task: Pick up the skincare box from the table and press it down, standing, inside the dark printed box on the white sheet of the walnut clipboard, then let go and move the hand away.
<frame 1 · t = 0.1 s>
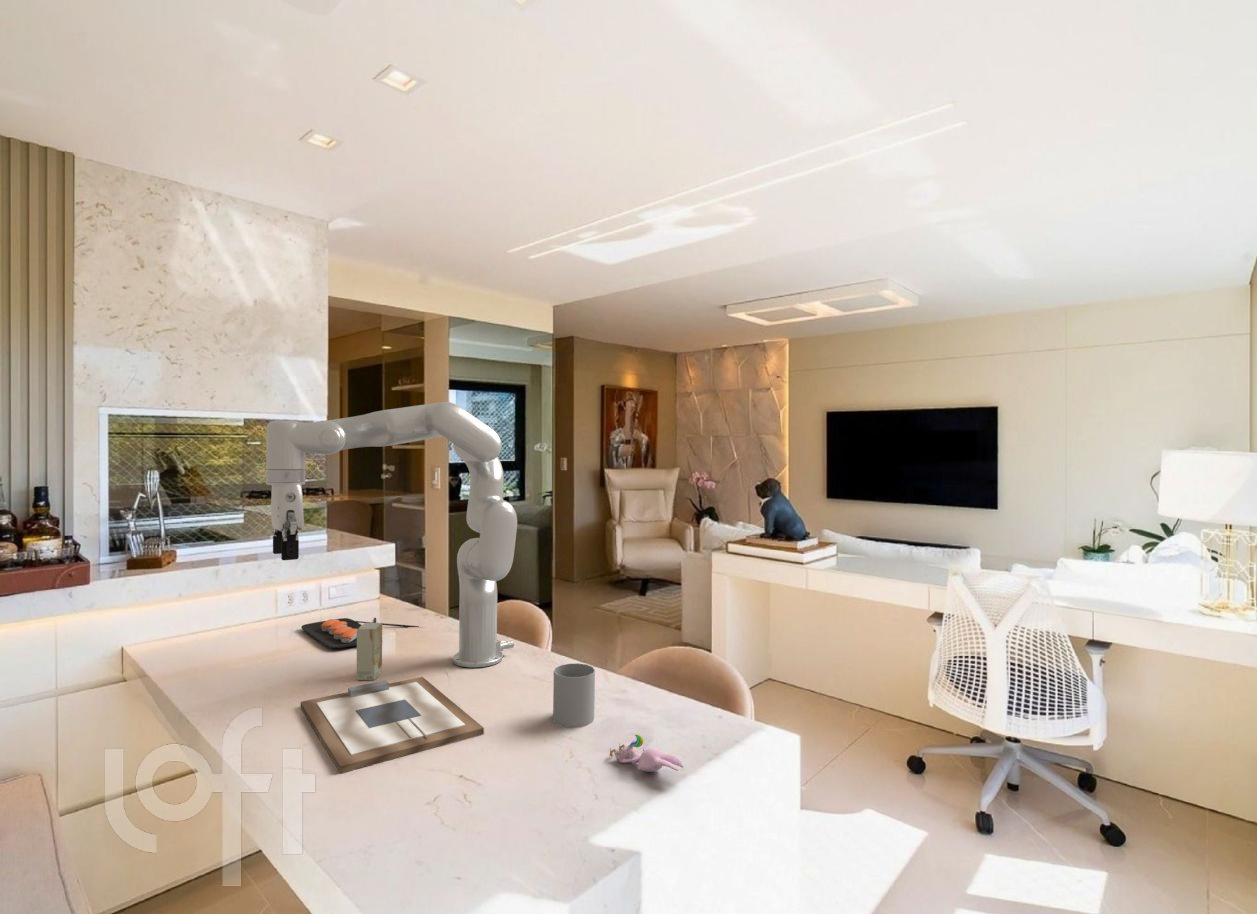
hand: (285, 556, 140), 31 cm above the table, tool pointing down, fingers open, 9 cm apart
skincare box: (369, 676, 155), on the table
cup: (573, 719, 133), on the table
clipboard: (388, 720, 131), on the table
sushi plate: (367, 633, 193), on the table
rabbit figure: (645, 771, 112), on the table
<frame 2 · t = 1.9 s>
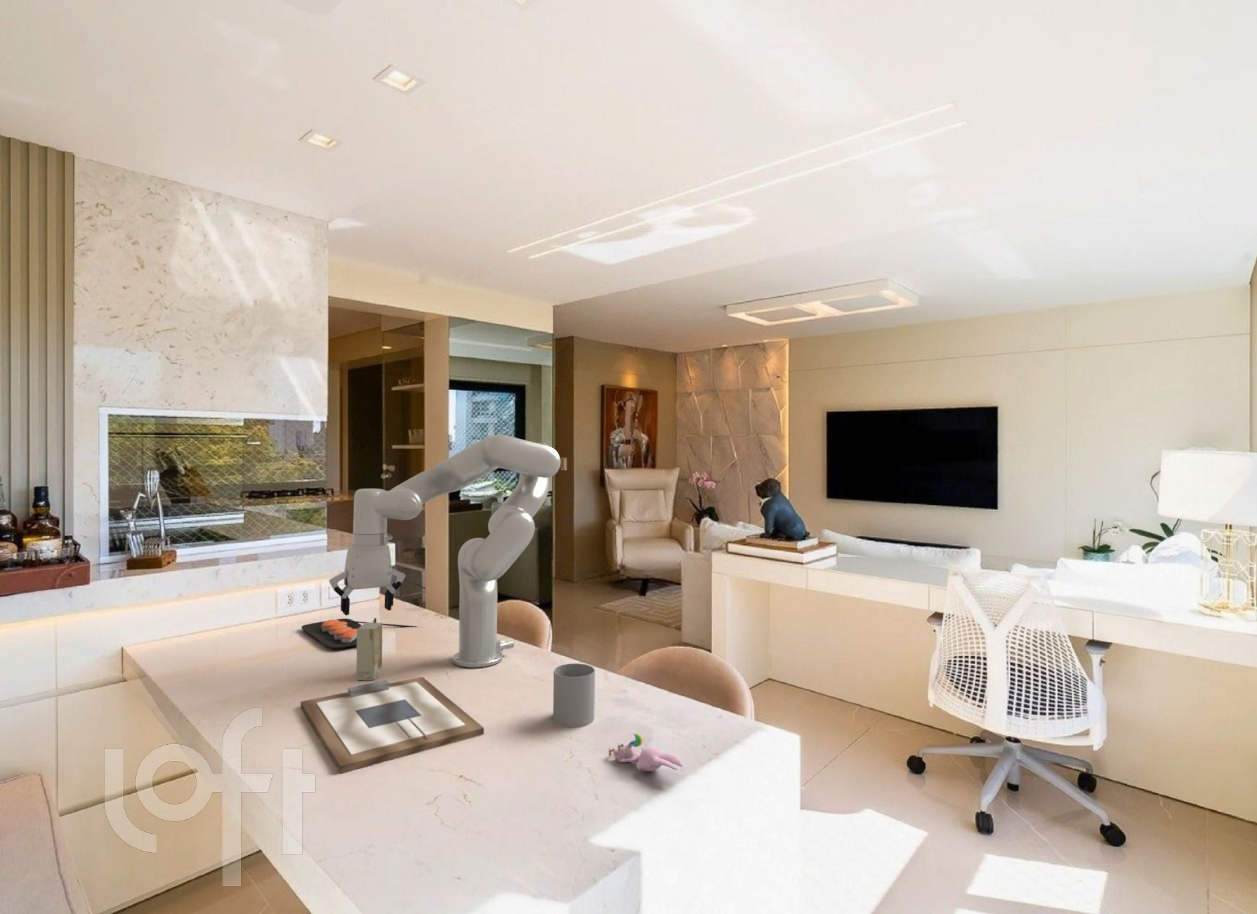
hand: (367, 611, 155), 16 cm above the table, tool pointing down, fingers open, 9 cm apart
nothing on the table moved.
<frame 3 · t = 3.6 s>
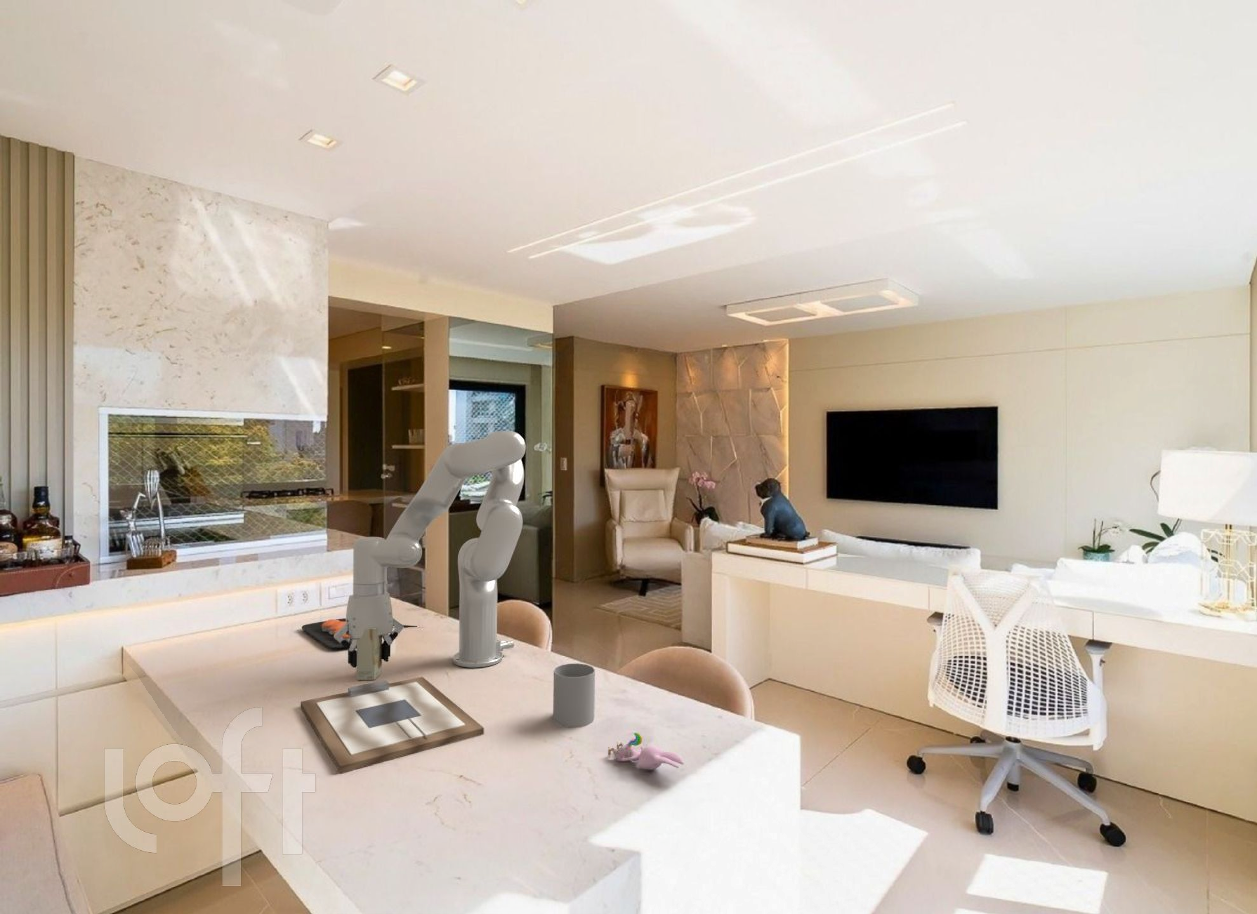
hand: (369, 662, 155), 3 cm above the table, tool pointing down, fingers closed on skincare box, 6 cm apart
skincare box: (369, 676, 156), on the table, touching gripper
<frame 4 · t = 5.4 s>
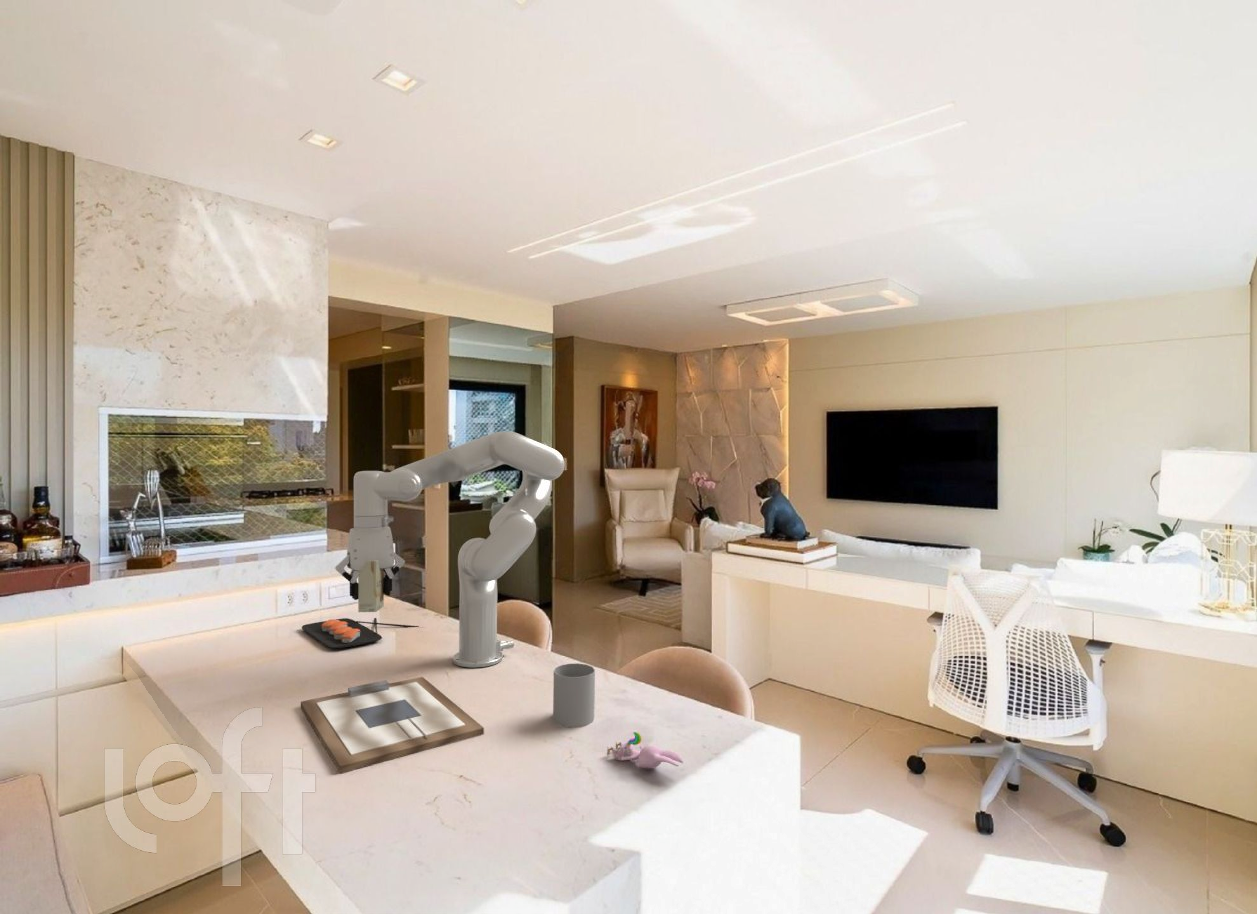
hand: (371, 596, 155), 19 cm above the table, tool pointing down, fingers closed on skincare box, 6 cm apart
skincare box: (371, 610, 155), point 16 cm above the table, touching gripper
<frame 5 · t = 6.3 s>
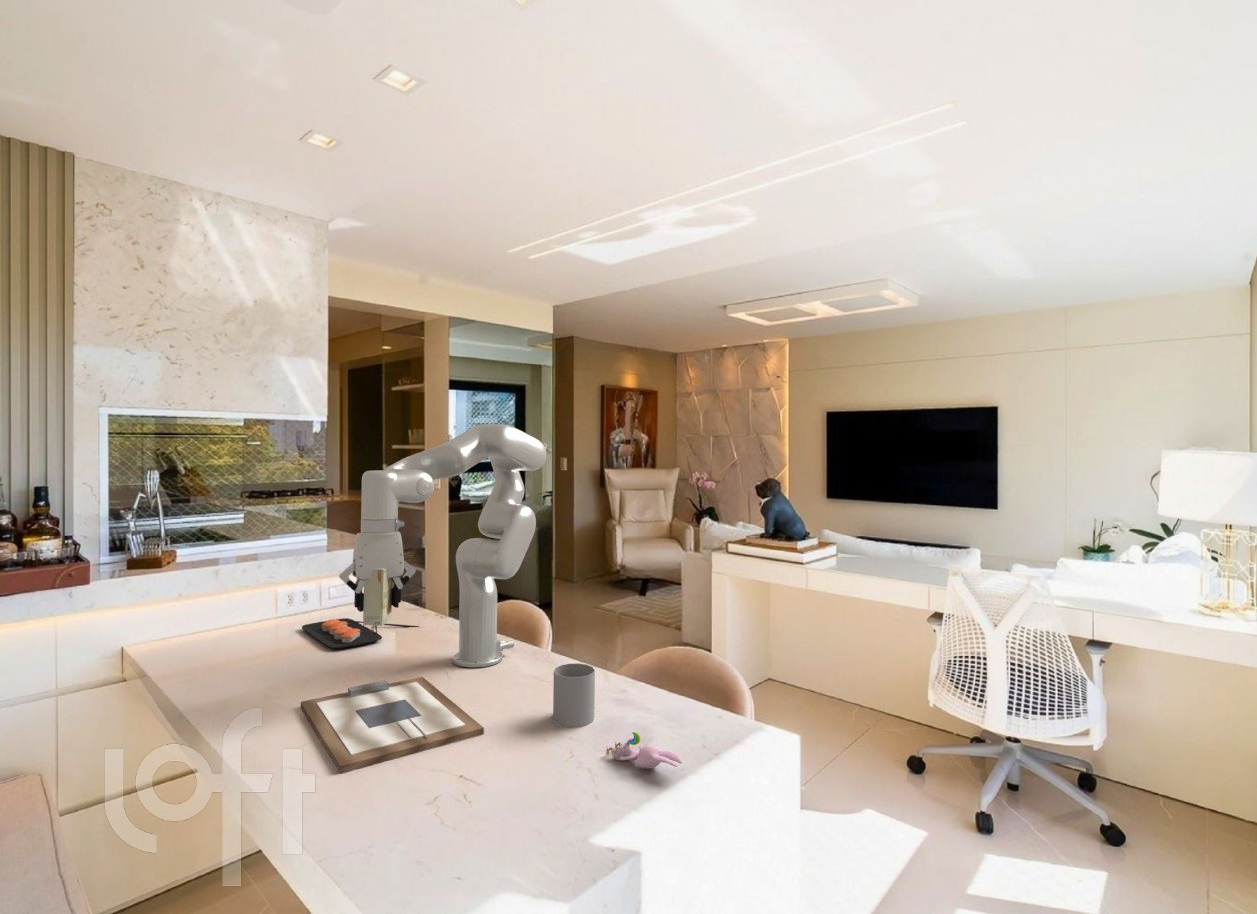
hand: (377, 607, 142), 20 cm above the table, tool pointing down, fingers closed on skincare box, 6 cm apart
skincare box: (377, 623, 142), point 17 cm above the table, touching gripper
when the fingers open (6 cm above the table, at t = 9.5 s): skincare box stays where it is, resting on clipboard.
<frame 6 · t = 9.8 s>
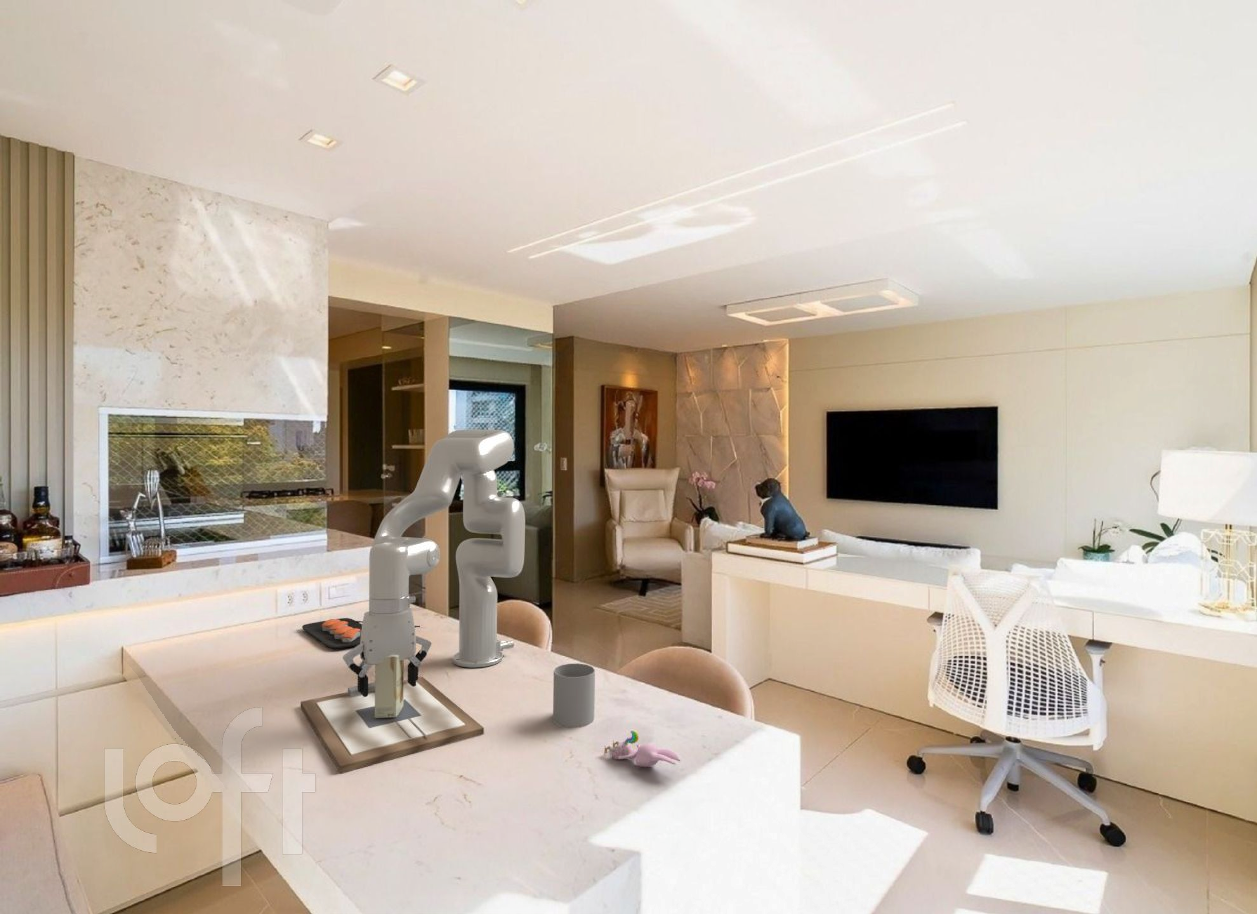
hand: (388, 689, 131), 6 cm above the table, tool pointing down, fingers open, 9 cm apart
skincare box: (389, 713, 131), point 1 cm above the table, touching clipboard
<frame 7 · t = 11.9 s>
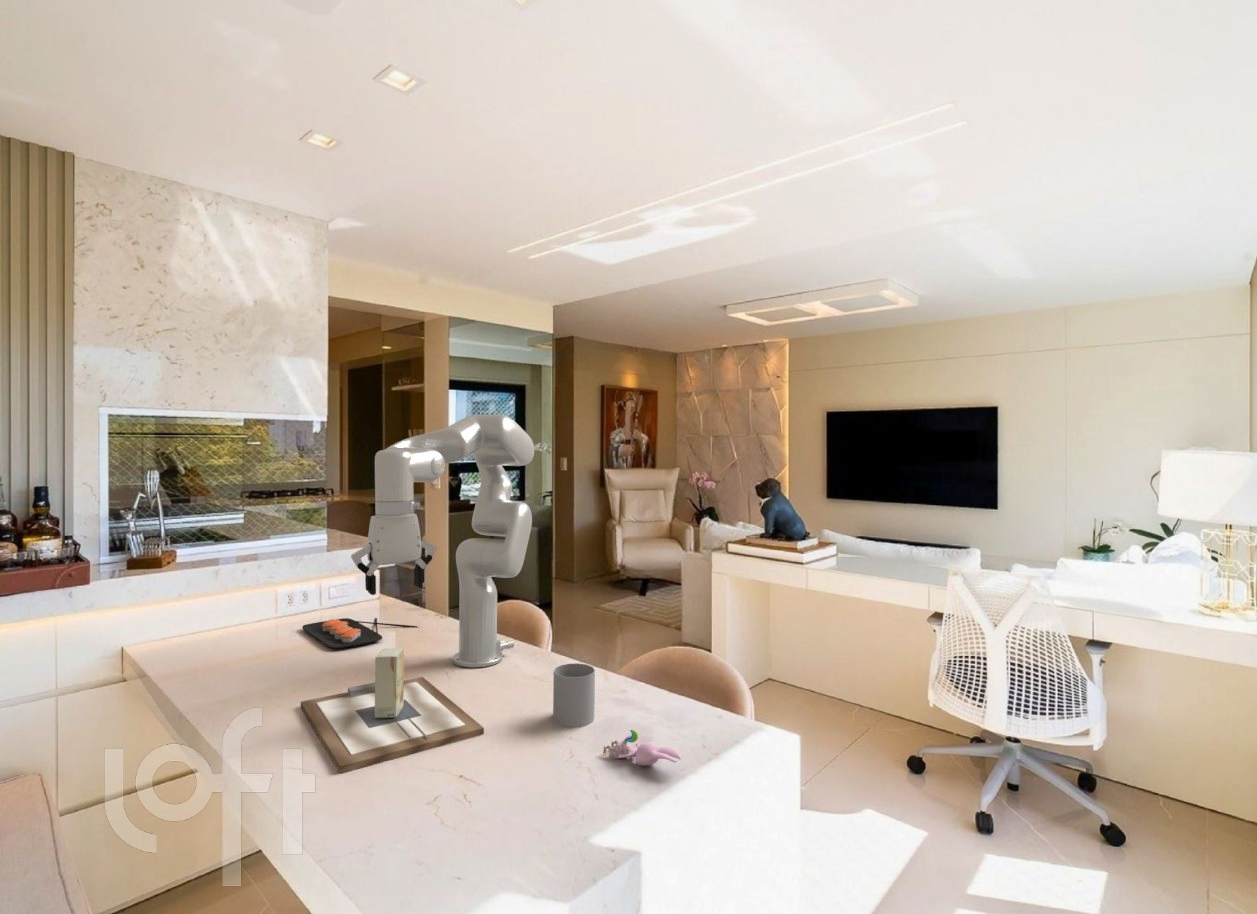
hand: (395, 590, 136), 25 cm above the table, tool pointing down, fingers open, 9 cm apart
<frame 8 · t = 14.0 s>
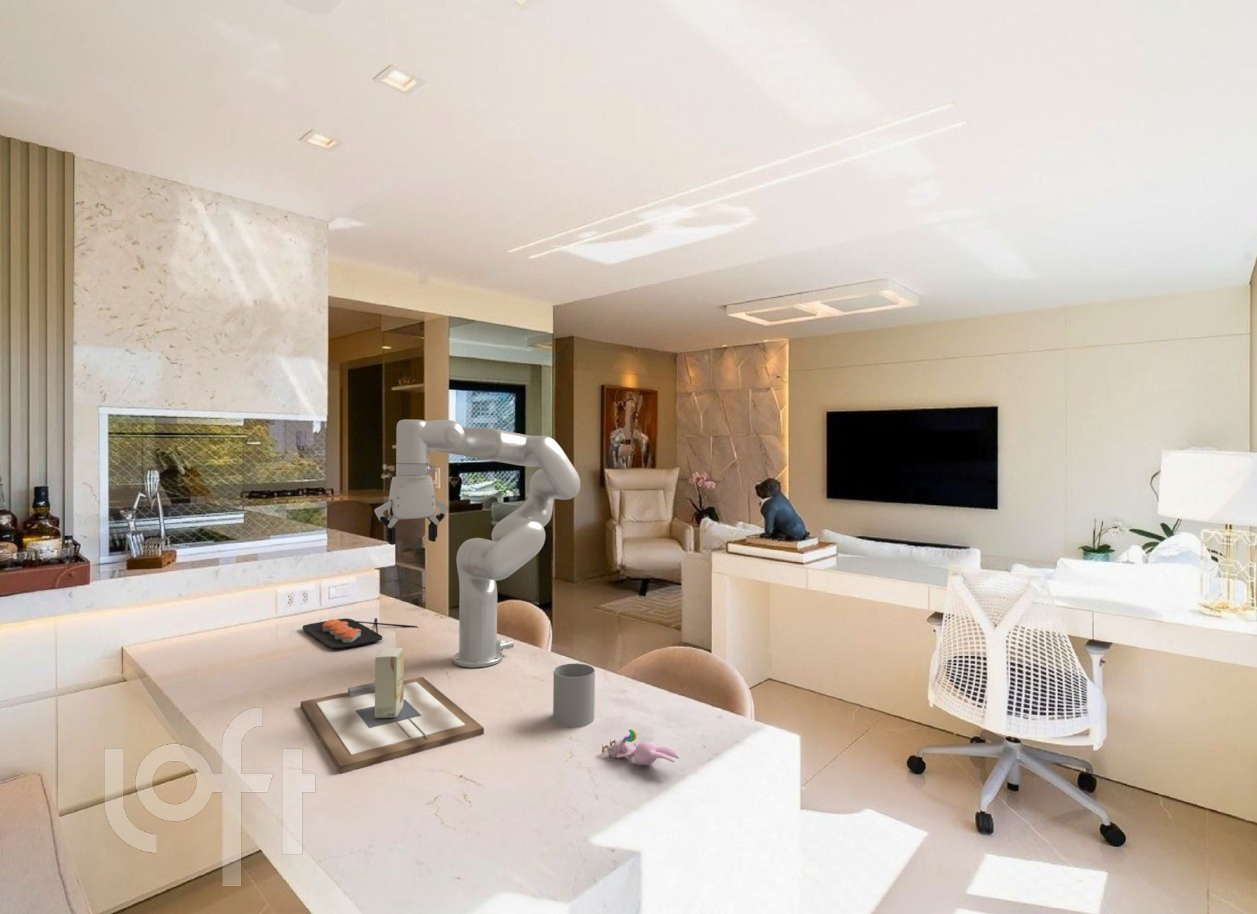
hand: (412, 542, 155), 32 cm above the table, tool pointing down, fingers open, 9 cm apart
at the end: skincare box inside the target area on the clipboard (0.3 cm from its centre), point 1.3 cm above the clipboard's base; skincare box tilted 0°; the gripper is holding nothing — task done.
